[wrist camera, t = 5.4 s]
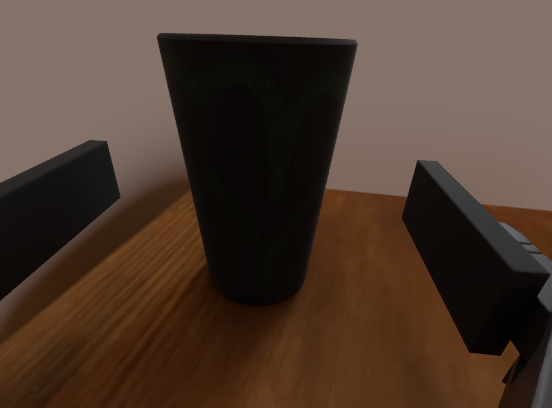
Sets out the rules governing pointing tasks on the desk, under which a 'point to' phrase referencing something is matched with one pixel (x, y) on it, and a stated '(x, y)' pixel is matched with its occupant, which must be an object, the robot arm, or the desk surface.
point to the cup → (257, 149)
